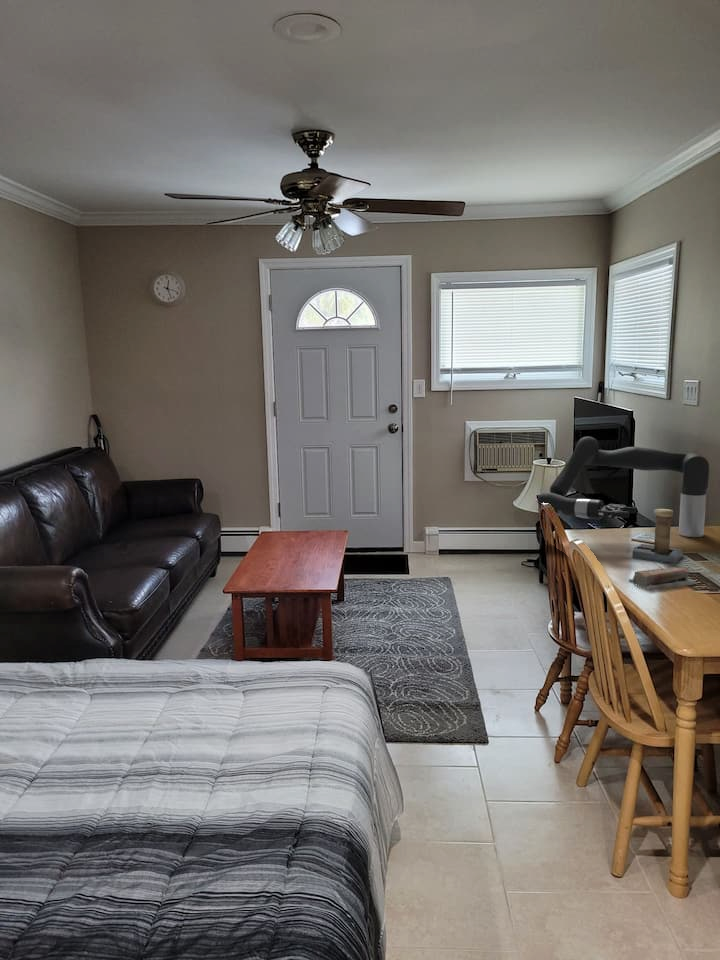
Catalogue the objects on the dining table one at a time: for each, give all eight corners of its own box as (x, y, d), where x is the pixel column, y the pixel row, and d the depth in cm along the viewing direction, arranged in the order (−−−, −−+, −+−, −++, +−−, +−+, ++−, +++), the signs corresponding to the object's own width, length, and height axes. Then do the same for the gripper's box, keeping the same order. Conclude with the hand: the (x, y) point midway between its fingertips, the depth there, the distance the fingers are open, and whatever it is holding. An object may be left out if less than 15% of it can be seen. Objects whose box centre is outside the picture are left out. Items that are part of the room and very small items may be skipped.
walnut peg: (654, 554, 254) (656, 508, 251) (672, 556, 250) (675, 510, 247) (649, 558, 249) (651, 511, 246) (668, 560, 245) (670, 513, 242)
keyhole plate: (674, 563, 241) (674, 556, 241) (630, 557, 251) (630, 550, 250) (682, 556, 250) (682, 549, 250) (639, 550, 260) (639, 543, 259)
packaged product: (649, 577, 214) (628, 568, 223) (649, 592, 214) (628, 582, 224) (696, 571, 219) (674, 562, 228) (696, 585, 220) (673, 576, 229)
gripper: (582, 502, 258) (626, 506, 248) (595, 496, 269) (638, 499, 259) (582, 521, 259) (626, 526, 249) (595, 514, 270) (637, 518, 260)
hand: (632, 512), depth 254 cm, fingers open, 8 cm apart
